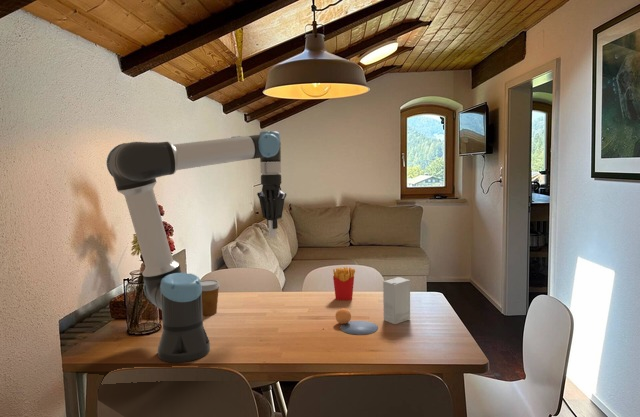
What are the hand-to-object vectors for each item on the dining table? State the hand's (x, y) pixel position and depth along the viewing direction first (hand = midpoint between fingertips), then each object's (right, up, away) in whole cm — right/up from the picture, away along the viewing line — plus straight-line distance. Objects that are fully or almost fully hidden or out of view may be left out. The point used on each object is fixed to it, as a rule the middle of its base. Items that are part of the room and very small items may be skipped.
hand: (272, 237), depth 171 cm
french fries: (+28, -27, +21) cm, 44 cm away
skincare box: (+45, -30, -7) cm, 54 cm away
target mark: (+31, -30, -13) cm, 45 cm away
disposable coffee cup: (-25, -30, +5) cm, 39 cm away
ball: (+26, -27, -9) cm, 39 cm away
